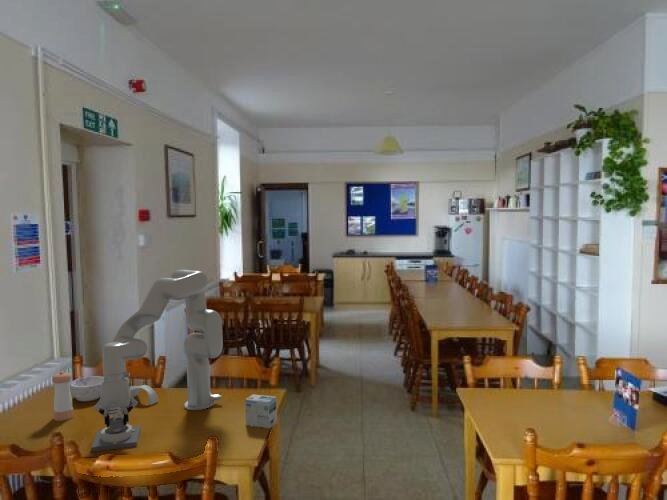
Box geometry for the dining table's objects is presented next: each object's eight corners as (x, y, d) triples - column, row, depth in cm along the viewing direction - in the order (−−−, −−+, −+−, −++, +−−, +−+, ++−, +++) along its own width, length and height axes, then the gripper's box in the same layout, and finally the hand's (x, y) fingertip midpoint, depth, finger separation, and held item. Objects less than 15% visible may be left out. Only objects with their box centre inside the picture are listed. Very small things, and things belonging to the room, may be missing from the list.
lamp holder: (140, 429, 201) (140, 419, 200) (136, 446, 186) (136, 435, 186) (98, 434, 197) (97, 424, 196) (91, 451, 182) (90, 440, 182)
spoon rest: (106, 400, 234) (106, 384, 233) (127, 392, 244) (127, 377, 244) (144, 408, 223) (144, 392, 223) (165, 399, 234) (164, 384, 233)
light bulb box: (277, 422, 206) (277, 396, 205) (270, 429, 199) (269, 401, 199) (253, 419, 209) (252, 393, 209) (245, 426, 203) (244, 399, 202)
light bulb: (111, 429, 194) (110, 398, 193) (127, 429, 194) (126, 397, 193) (106, 436, 188) (105, 403, 187) (122, 435, 189) (121, 403, 188)
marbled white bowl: (98, 404, 229) (97, 386, 228) (63, 404, 229) (62, 386, 228) (113, 392, 244) (112, 375, 243) (81, 392, 244) (80, 375, 244)
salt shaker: (77, 415, 216) (75, 370, 214) (61, 422, 209) (59, 375, 208) (65, 413, 219) (63, 368, 217) (49, 419, 212) (47, 373, 211)
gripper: (140, 371, 196) (142, 418, 197) (91, 376, 191) (93, 424, 192) (138, 377, 189) (140, 426, 190) (87, 382, 184) (89, 432, 185)
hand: (116, 424), depth 191 cm, fingers closed on light bulb, 5 cm apart
